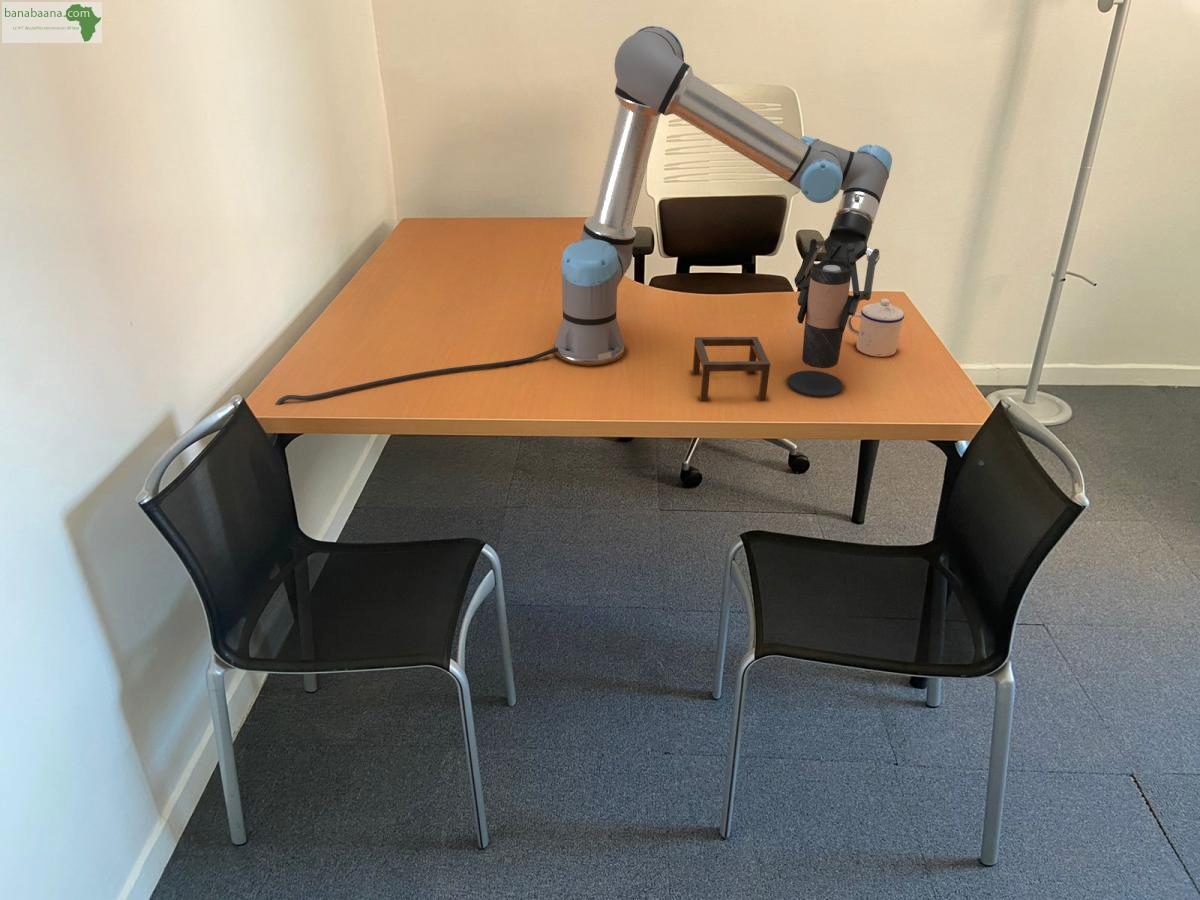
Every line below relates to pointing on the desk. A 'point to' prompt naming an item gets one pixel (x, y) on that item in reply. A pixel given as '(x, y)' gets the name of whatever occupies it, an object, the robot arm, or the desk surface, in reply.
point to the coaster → (815, 383)
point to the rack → (747, 366)
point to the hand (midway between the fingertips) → (820, 324)
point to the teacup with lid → (878, 328)
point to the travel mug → (825, 312)
